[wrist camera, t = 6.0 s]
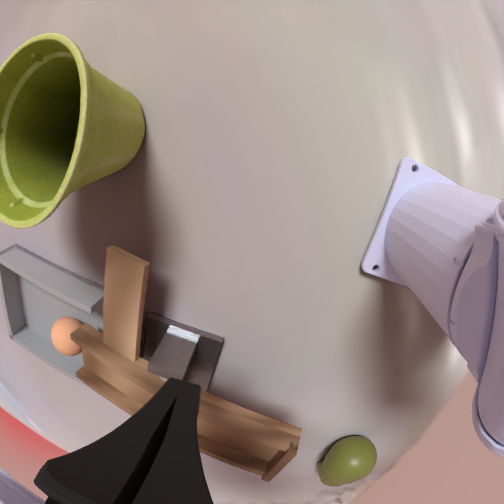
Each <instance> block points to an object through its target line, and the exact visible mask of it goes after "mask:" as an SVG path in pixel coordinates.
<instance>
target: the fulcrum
mask: <svg viewBox="0 0 504 504" xmlns="http://www.w3.org/2000/svg"><path fill="white" fill-rule="evenodd" d="M223 339H224V338H223V337H220V336H217V335H214V334H210V333H207V332H204V331H201V330H198V329H196V328H193V327H190V326H187V325H184V324H181V323H178V322H176V321H173V320H170V319H167V318H165V317H162V316H159V315H157V314H154V313H151V312H150V314H149V315H148V317H147V326H146V335H145V345H144V355H143V359H145V360H146V361H148V362H149V363H148V369H147V371H148V372H151V373H153V374H156V375H158V376H161V377H164V378H166V379H168V378H171V377H172V378H175V379H179V380H182V381H183V380H184V381H186V382H190V383H194V384H198V385H200V386H201V389H202V390H204V391H206V392H207V389H208V385H209V382H210V379H211V376H212V373H213V370H214V367H215V364H216V361H217V358H218V355H219V352H220V349H221V346H222V343H223Z"/></svg>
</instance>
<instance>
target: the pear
mask: <svg viewBox="0 0 504 504" xmlns="http://www.w3.org/2000/svg"><path fill="white" fill-rule="evenodd" d="M376 459H377V451H376V448H375V446H374V444H373V443H372V442H371V441H370V440H369V439H367V438H365V437H361V436H350V437H346V438H344V439H341V440H340V441H338V442H337V443H335V444H334V445H333V446H332V448H331V449H330V450H329V452H328V453H327V455H326V457H325V459H324V461H320V462H319V463H318V464H317V468H318V470H319V476H320V479H321V481H322V482H323V483H324V484H325V485H328V486H341V485H343V484H347V483H352V482H355V481H357V480H360V479H362V478H363V477H365V476H366V475H368V474H369V473H370V472H371V470H372V469H373V467H374V466H375V463H376Z"/></svg>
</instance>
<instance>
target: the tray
mask: <svg viewBox="0 0 504 504" xmlns="http://www.w3.org/2000/svg"><path fill="white" fill-rule="evenodd" d="M0 292H1V298H2V303H3V308H4V313H5V317H6V322H7V326H8V330H9V334H10V338H11V339H13V340H14V341H15V342H17V343H18V344H19V345H21V346H22V347H23V348H25V349H26V350H28V351H29V352H31V353H32V354H33V355H35V356H36V357H38V358H39V359H41V360H42V361H44V362H45V363H47V364H49V365H50V366H52V367H53V368H55V369H57V370H58V371H60V372H62V373H63V374H65V375H67V376H68V377H70V378H72V379H74V380H75V381H77V382H79V383H81V384H83V385H84V386H86V387H88V388H90V387H89V386H88V385H86V384H85V383H84V382H82V381H81V380H80V379H79V378H77V377H76V372H77V371H78V370H79V369H80V368H81V367H83V366H84V362H83V354H82V352H81V353H80V354H78V355H75V356H67V355H64V354H62V353H60V352H59V351H58V350H57V349H56V348H55V346H54V345H53V342H52V339H51V330H52V327H53V325H54V323H55V322H56V321H57V320H58V319H60V318H62V317H73V318H75V319H77V320H79V321H80V322H81V323H82V324H85V323H86V322H87V323H88V324H90V325H91V326H92V327H94V328H95V329H97V330H98V331H100V332H101V333H103V302H104V286H101V285H99V284H97V283H94V282H92V281H90V280H88V279H85V278H83V277H81V276H79V275H77V274H75V273H72V272H70V271H68V270H66V269H64V268H62V267H60V266H58V265H56V264H54V263H52V262H50V261H48V260H46V259H44V258H42V257H40V256H38V255H36V254H34V253H32V252H30V251H28V250H26V249H24V248H23V247H21V246H19V245H17V244H15V245H13V246H11V247H9V248H7V249H5V250H3V251H1V252H0ZM90 389H92V388H90ZM92 390H93V389H92Z"/></svg>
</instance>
